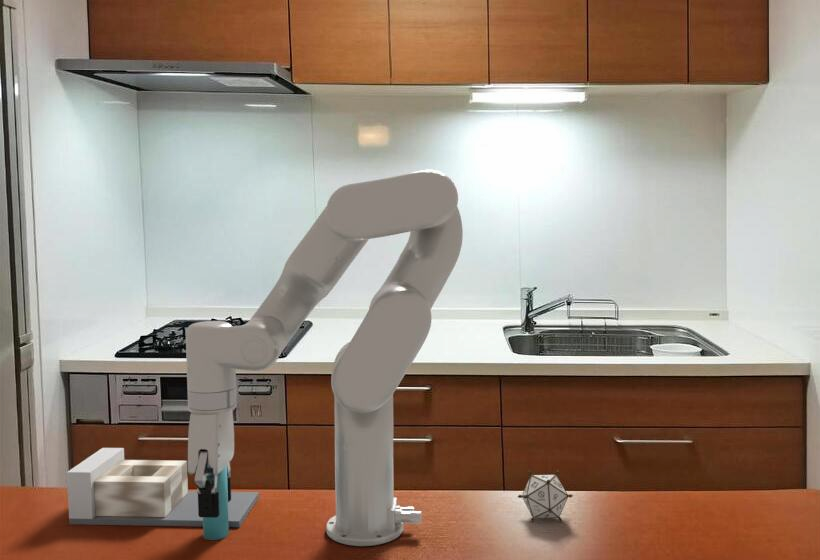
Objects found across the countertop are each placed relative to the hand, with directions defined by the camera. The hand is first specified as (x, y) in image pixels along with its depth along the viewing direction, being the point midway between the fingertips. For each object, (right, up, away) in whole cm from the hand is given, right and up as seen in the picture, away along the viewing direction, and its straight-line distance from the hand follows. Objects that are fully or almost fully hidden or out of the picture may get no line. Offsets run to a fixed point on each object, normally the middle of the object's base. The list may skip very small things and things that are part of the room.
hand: (215, 507), depth 121 cm
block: (-15, -3, +11) cm, 19 cm away
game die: (+54, -4, +6) cm, 55 cm away
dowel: (0, -5, 0) cm, 5 cm away
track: (-11, -4, +10) cm, 16 cm away
